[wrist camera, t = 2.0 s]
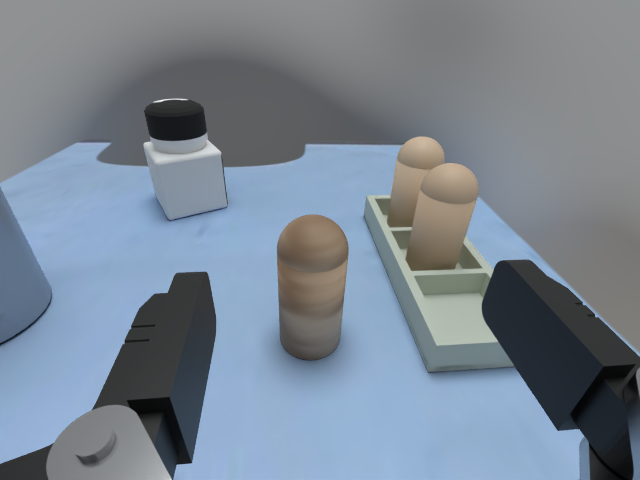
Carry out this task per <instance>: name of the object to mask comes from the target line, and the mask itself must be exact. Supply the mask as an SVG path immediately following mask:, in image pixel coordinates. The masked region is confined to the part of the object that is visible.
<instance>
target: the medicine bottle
mask: <svg viewBox="0 0 640 480" xmlns="http://www.w3.org/2000/svg"><path fill="white" fill-rule="evenodd" d="M144 112H145V116H146V121H147V125H148V130H149V134H150V139H151V142H146V143H144V150H145V154H146V158H147V162H148V166H149V170H150V175H151V179H152V183H153V187H154V191H155V195H156V197H157V199H158V201H159V203H160V205H161V207H162V208H163V210H164V212H165V214H166V216H167V218H168V219H169V220H173V219H178V218H182V217H186V216H191V215H195V214H199V213H203V212H208V211H212V210H216V209H221V208H225V207H227V206H228V202H227V194H226V186H225V177H224V169H223V161H222V154H221V152H220V151H219V150H218V149H217V148H216V147H215V146H214V145H213V144H212V143H210V142H209V141H208V140H207V139H208V136H207V129H206V122H205V115H204V108H203V107H202V106H201V105H200V104H199V103H196V102H194V101H192V100H187V99H166V100H159V101H156V102H154V103H152V104H150V105H148V106H147V107H146V108H145V110H144Z"/></svg>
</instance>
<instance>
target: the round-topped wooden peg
mask: <svg viewBox="0 0 640 480" xmlns="http://www.w3.org/2000/svg"><path fill="white" fill-rule="evenodd" d="M347 262H348V242H347V239H346V236H345V234H344V232H343V231H342V229H341V228H340V227H339V226H338V225H337V224H336V223H335V222H334V221H332V220H331V219H329V218H327V217H324V216H321V215H305V216H301V217H299V218H297V219H295V220H293V221H292V222H290V223H289V224H288V225H287V226H286V227H285V228H284V230H283V231H282V233H281V235H280V237H279V240H278V244H277V267H278V295H279V322H280V340H281V344H282V346H283V347H284V349H285V350H286V351H287V352H288V353H289V354H291V355H292V356H294V357H296V358H299V359H304V360H317V359H321V358H324V357H326V356H328V355H330V354H331V353H332V352H333V351H334V350H335V349H336V348H337V346H338V344H339V341H340V332H341V322H342V312H343V302H344V292H345V282H346V272H347Z"/></svg>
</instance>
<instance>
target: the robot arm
mask: <svg viewBox="0 0 640 480" xmlns="http://www.w3.org/2000/svg"><path fill="white" fill-rule="evenodd" d="M51 295H52V292H51V287H50V285H49V283H48V281H47V279H46V277H45V275H44V273H43V271H42V269H41V267H40V265H39V263H38V261H37V259H36V257H35V255H34V253H33V251H32V249H31V247H30V245H29V243H28V241H27V239H26V237H25V235H24V233H23V231H22V229H21V227H20V225H19V223H18V221H17V219H16V217H15V215H14V213H13V211H12V209H11V207H10V205H9V204H8V202H7V200H6V198H5V196H4V194H3V192H2V190H1V188H0V343H1V342H3V341H5V340H7V339H9V338H11V337H13V336H14V335H16V334H17V333H19V332H20V331H22V330H23V329H25V328H26V327H28V326H29V325H30V324H31V323H32V322H34V321H35V320H36V319H37V318H38V317H39V316H40V315H41V314H42V312H43V311H44V310H45V309H46V307H47V305H48V304H49V302H50V299H51ZM582 303H583V302H582V301H581V300H580V299H578V298H577V297H576V296H575V295H574V294H573V293H572V292H571V291H570V290H569V289H568V288H566V287H565V286H563V285H561V284H560V283H558V282H556V281H555V280H553V279H552V278H550V277H548V276H547V275H546V274H545V273H544V272H543V271H542V270H540V269H539V268H538V267H537V266H536V265H535V264H534V263H533V262H532V261H530V260H503V261H499V262H498V263H497V264H496V266H495V268H494V271H493V273H492V276H491V279H490V281H489V284H488V287H487V290H486V292H485V295H484V298H483V301H482V315H483V318H484V321H485V322H486V324H487V326H488V327H489V329H490V330H491V332H492V333H493V335H494V336H495V338H496V339H497V341H498V342H499V344H500V345H501V347H502V348H503V350H504V351H505V353H506V354H507V356H508V357H509V359H510V360H511V362H512V363H513V365H514V366H515V368H516V369H517V371H518V372H519V374H520V375H521V377H522V378H523V379H524V381H525V382H526V384H527V385H528V387H529V388H530V390H531V391H532V393H533V394H534V396H535V397H536V399H537V400H538V402H539V403H540V405H541V406H542V408H543V409H544V411H545V412H546V414H547V415H548V417H549V418H550V420H551V421H552V423H553V424H554V426H555V427H556V429H557V430H558V431H561V430H572V429H580V431H581V432H582V433H583V435H584V437H583V439H582V440H581V442H580V446H579V460H580V480H640V357H639V356H638V355H637V354H636V353H635V352H634V351H633V350H632V349H631V348H630V347H629V346H628V345H627V344H626V343H625V342H624V341H622V340H621V339H620V338H619V337H618V336H617V335H616V334H615V333H614V332H613V331H612V330H611V329H610V328H609V327H608V326H607V325H606V324H605V323H604V322H603V321H602V320H600V319H599V318H598V317H597V318H596V317H595V314H594V313H593V312H592V311H591V310H590V309H589V308H588V307H587V306H586V305H583V304H582ZM215 336H216V314H215V308H214V303H213V297H212V292H211V286H210V281H209V276H208V273H207V272H186V273H176V274H175V276H174V278H173V281H172V283H171V286H170V288H169V291H168V293H160V294H154V295H153V296H152V297H151V298H150V299H149V300H148V301H147V302H146V303H145V304H144V305H143V306H141V307H140V308H139V310H138V312H137V315H136V317H135V319H134V321H133V323H132V325H131V329H130V330H129V332H128V334H127V336H126V339H125V344H123V345H122V347H121V349H120V352H119V354H118V356H117V358H116V360H115V362H114V365H113V367H112V369H111V371H110V373H109V376H108V378H107V380H106V382H105V384H104V386H103V389H102V391H101V393H100V395H99V397H98V399H97V402H96V404H95V405H94V407H93V409H92V410H91V411H90V412H88V413H86V414H84V415H82V416H81V417H79V418H78V419H76V420H75V421H74V422H72V423H71V424H70V425H69V426H68V427H67V428H66V429H65V430H64V431H63V432H62V433H61V434H60V435H59V437H58V438H57V439H56V441H55V442H54V443H53V444H51V445H49V446H47V447H45V448H42V449H40V450H37V451H34V452H32V453H29V454H26V455H23V456H21V457H18V458H15V459H13V460H10V461H7V462H4V463H2V464H0V480H173V478H174V473H175V469H176V465H178V464H188V463H192V460H193V454H194V449H195V444H196V438H197V433H198V428H199V422H200V417H201V412H202V406H203V401H204V396H205V390H206V385H207V379H208V374H209V369H210V363H211V358H212V353H213V347H214V342H215Z"/></svg>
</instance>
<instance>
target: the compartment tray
mask: <svg viewBox="0 0 640 480" xmlns="http://www.w3.org/2000/svg"><path fill="white" fill-rule="evenodd" d="M444 161H445V156H444V152H443V149H442V147H441V146H440V145H439V144H438V142H436V141H435V140H433V139H431V138H428V137H416V138H413V139H411V140H409V141H407V142H406V143H405V144H404V145H403V146H402V147H401V149H400V151H399V153H398V156H397V161H396V168H395V174H394V180H393V186H392V192H391V195H370V196H366V203H365V211H364V218H365V220H366V223H367V225H368V228H369V230H370V232H371V235H372V237H373V240H374V242H375V245H376V247H377V249H378V252H379V254H380V257H381V259H382V262H383V264H384V266H385V269H386V271H387V274H388V276H389V279H390V281H391V283H392V286H393V288H394V291H395V293H396V296H397V298H398V300H399V303H400V305H401V308H402V310H403V313H404V315H405V317H406V320H407V322H408V325H409V327H410V330H411V332H412V334H413V337H414V339H415V342H416V344H417V347H418V349H419V351H420V354H421V356H422V359H423V361H424V363H425V366H426V368H427V371H428V372H441V371H456V370H470V369H485V368H499V367H514V365H513V363H512V362H511V360H510V359H509V357H508V356H507V354H506V353H505V351H504V350H503V348H502V347H501V345H500V344H499V342H498V341H497V339H496V338H495V336H494V335H493V333H492V332H491V330H490V329H489V327H488V326H487V324H486V322H485V321H484V318H483V315H482V301H483V298H484V295H485V292H486V290H487V287H488V284H489V281H490V279H491V276H492V273H493V271H494V270H493V269H492V268H491V266H490V265H489V264H488V263H487V262H486V260H485V259H484V258H483V257H482V255H481V254H480V253H479V252H478V250H477V249H476V248H475V247H474V246H473V244H472V243H471V242H470V241H469V239H468V238H467V237H466V233H467V229H468V226H469V223H470V220H471V217H472V213H473V210H474V207H475V204H476V201H477V197H478V191H479V190H478V189H479V188H478V182H477V180H476V177H475V176H474V174H473V173H472V172H471V171H470V170H469V169H467V168H466V167H464V166H462V165H459V164H455V163H447V164H444Z"/></svg>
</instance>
